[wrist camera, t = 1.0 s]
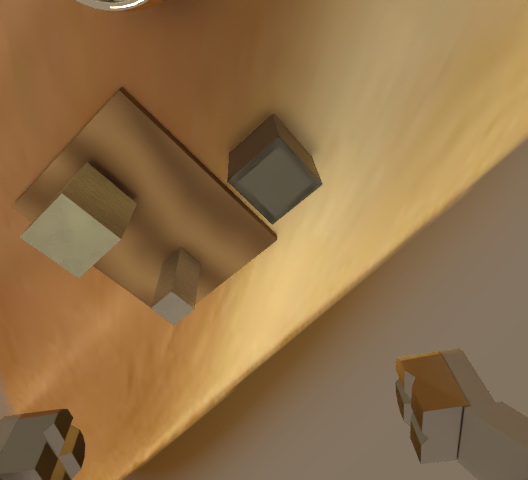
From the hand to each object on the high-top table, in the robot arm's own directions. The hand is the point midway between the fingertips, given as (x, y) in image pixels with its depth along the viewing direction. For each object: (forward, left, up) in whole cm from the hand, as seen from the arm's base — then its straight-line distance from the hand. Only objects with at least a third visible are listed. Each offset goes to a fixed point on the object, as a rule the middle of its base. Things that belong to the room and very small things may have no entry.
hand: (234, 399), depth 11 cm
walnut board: (+14, +2, -30) cm, 33 cm away
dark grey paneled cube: (+1, +5, -30) cm, 31 cm away
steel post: (+15, +7, -29) cm, 33 cm away
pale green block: (+15, -3, -29) cm, 33 cm away
